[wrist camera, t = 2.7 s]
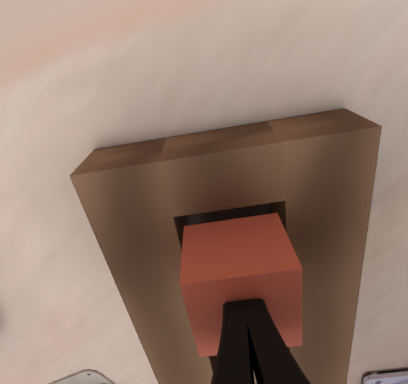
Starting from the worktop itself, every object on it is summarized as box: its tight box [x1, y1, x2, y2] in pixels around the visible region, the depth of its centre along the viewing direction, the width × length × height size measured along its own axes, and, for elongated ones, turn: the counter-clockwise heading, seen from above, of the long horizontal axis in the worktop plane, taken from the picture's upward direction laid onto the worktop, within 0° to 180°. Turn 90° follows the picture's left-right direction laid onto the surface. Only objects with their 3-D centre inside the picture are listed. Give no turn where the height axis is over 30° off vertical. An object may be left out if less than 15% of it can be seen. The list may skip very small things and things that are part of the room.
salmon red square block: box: [179, 213, 303, 357], centre depth 12 cm, size 4×4×3 cm
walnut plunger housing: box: [70, 109, 382, 384], centre depth 17 cm, size 12×20×3 cm, turn 9°
